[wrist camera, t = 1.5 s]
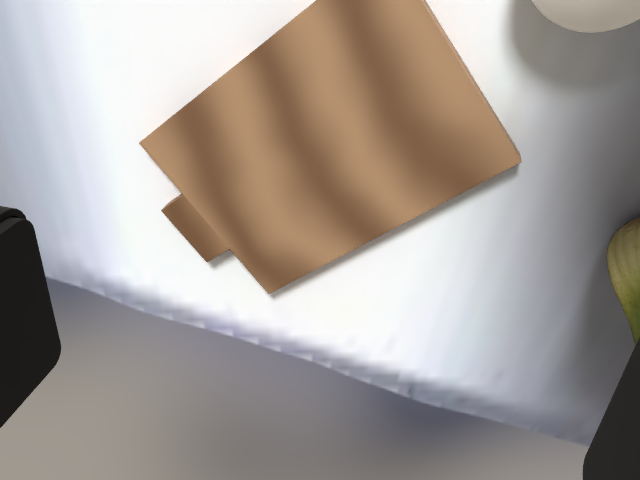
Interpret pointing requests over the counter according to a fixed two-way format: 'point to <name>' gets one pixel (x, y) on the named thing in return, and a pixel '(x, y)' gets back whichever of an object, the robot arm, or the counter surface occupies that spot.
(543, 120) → the counter surface
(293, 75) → the board
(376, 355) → the counter surface
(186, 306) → the counter surface
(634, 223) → the fennel bulb
